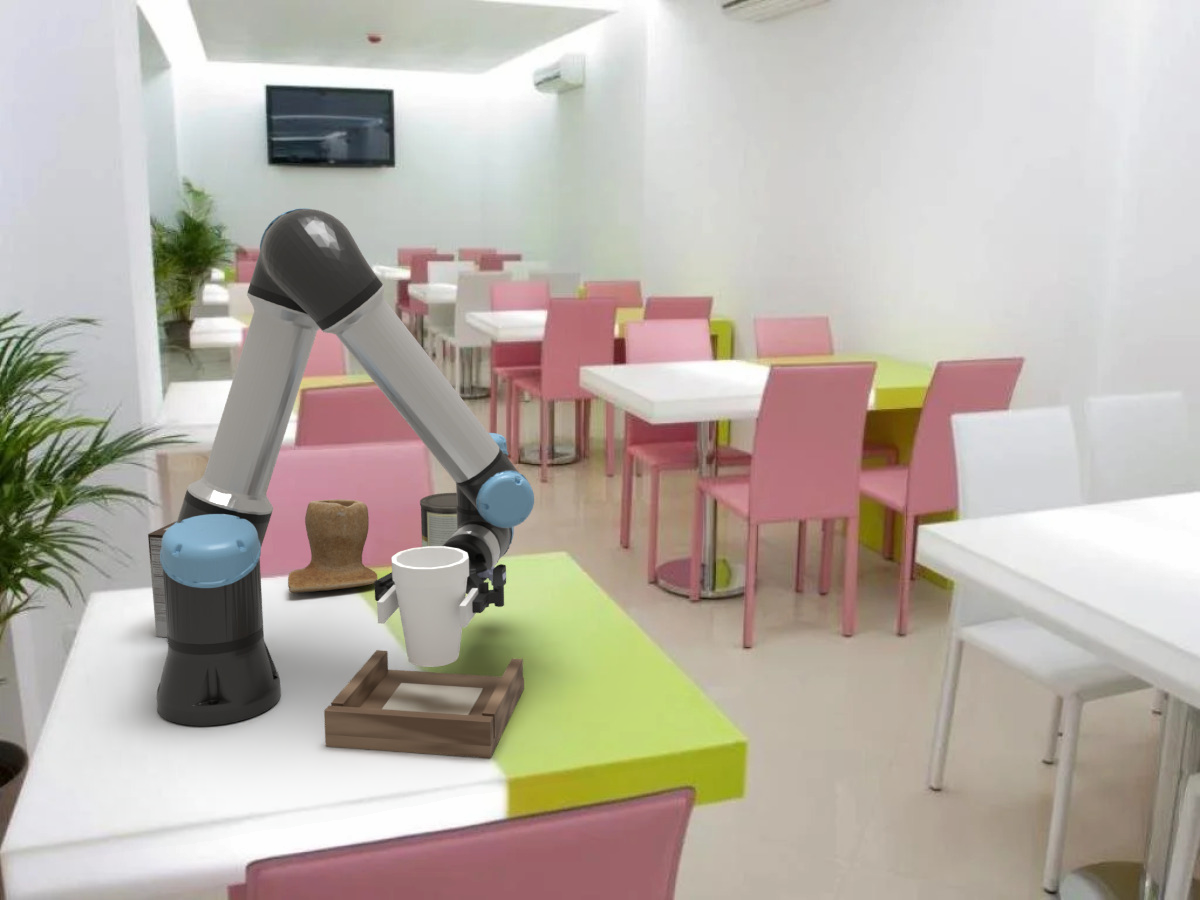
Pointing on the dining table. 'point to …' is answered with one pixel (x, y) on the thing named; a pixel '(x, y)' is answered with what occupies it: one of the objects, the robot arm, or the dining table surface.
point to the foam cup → (431, 601)
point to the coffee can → (438, 518)
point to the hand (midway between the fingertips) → (421, 614)
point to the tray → (423, 710)
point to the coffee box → (158, 580)
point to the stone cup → (334, 547)
